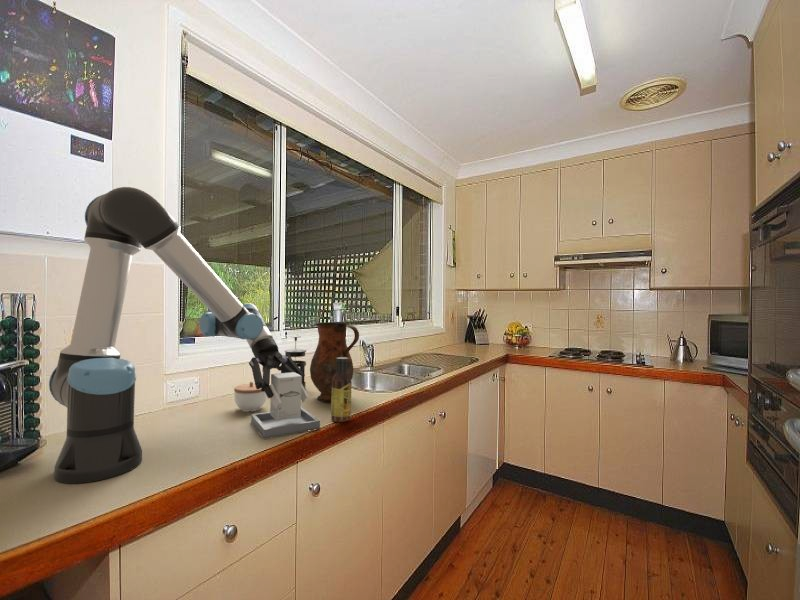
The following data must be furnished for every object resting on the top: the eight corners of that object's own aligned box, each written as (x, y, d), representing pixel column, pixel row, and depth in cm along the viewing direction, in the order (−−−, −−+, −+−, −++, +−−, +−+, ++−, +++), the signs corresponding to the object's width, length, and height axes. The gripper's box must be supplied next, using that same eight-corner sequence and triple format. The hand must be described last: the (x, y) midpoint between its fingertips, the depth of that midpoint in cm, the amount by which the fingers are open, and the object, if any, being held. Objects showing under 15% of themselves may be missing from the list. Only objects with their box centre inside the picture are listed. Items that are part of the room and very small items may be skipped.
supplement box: (276, 421, 108) (277, 377, 108) (269, 414, 115) (270, 373, 115) (301, 417, 113) (302, 375, 113) (293, 411, 119) (294, 371, 119)
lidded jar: (249, 403, 137) (249, 377, 137) (273, 407, 133) (274, 380, 133) (226, 411, 127) (227, 383, 127) (252, 415, 123) (253, 386, 123)
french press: (297, 386, 165) (298, 334, 165) (311, 390, 159) (313, 335, 159) (274, 391, 155) (275, 336, 155) (289, 395, 150) (290, 337, 150)
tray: (264, 438, 102) (264, 429, 102) (251, 422, 116) (251, 414, 116) (319, 429, 111) (320, 420, 111) (301, 414, 124) (302, 407, 124)
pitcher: (329, 392, 157) (331, 320, 157) (370, 400, 145) (371, 322, 145) (299, 400, 143) (300, 321, 143) (340, 410, 131) (342, 324, 131)
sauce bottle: (346, 424, 116) (348, 359, 117) (327, 422, 118) (329, 358, 118) (353, 417, 123) (354, 357, 123) (335, 416, 124) (336, 356, 124)
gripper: (285, 348, 131) (314, 402, 122) (225, 354, 114) (254, 418, 105) (295, 334, 128) (326, 388, 119) (235, 338, 111) (265, 402, 101)
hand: (292, 402), depth 112 cm, fingers closed on supplement box, 9 cm apart
